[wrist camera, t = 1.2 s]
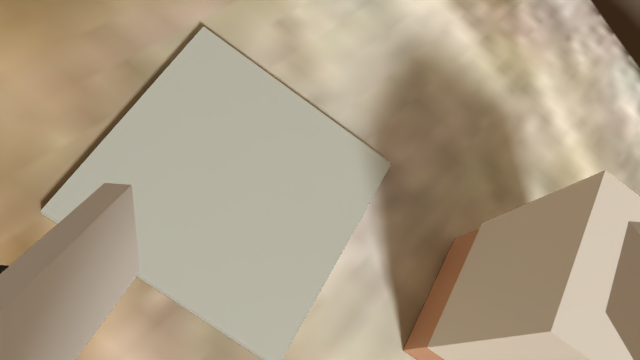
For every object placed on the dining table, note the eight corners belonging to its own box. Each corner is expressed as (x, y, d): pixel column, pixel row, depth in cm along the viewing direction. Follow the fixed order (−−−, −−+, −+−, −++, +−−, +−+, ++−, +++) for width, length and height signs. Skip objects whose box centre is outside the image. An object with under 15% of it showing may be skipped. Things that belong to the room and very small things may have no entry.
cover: (418, 348, 36) (573, 328, 25) (473, 226, 40) (627, 160, 29) (537, 430, 37) (739, 447, 26) (578, 303, 42) (767, 268, 30)
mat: (41, 213, 33) (40, 210, 33) (201, 31, 41) (203, 26, 40) (274, 367, 35) (277, 367, 35) (388, 166, 43) (391, 163, 42)
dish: (403, 350, 38) (430, 346, 35) (454, 239, 43) (483, 226, 40) (510, 423, 40) (546, 426, 36) (550, 308, 44) (586, 301, 41)
